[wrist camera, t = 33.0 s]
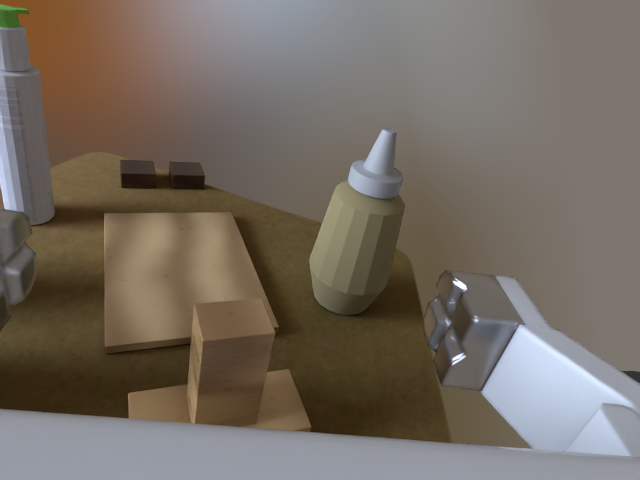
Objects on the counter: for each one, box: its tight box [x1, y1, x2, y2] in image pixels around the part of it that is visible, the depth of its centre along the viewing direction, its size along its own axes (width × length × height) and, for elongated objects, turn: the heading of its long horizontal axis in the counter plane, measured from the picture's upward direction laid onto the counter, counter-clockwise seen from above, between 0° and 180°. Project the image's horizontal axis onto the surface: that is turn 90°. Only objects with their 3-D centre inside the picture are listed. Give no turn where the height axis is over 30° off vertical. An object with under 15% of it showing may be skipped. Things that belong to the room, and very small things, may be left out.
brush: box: [128, 298, 311, 432], centre depth 29 cm, size 11×5×11 cm, turn 111°
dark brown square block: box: [169, 162, 205, 189], centre depth 61 cm, size 4×4×2 cm
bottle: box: [0, 5, 55, 225], centre depth 43 cm, size 4×4×20 cm
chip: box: [120, 160, 156, 188], centre depth 59 cm, size 4×4×2 cm
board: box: [104, 213, 279, 353], centre depth 46 cm, size 14×20×1 cm
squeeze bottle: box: [309, 128, 405, 315], centre depth 43 cm, size 8×8×18 cm
